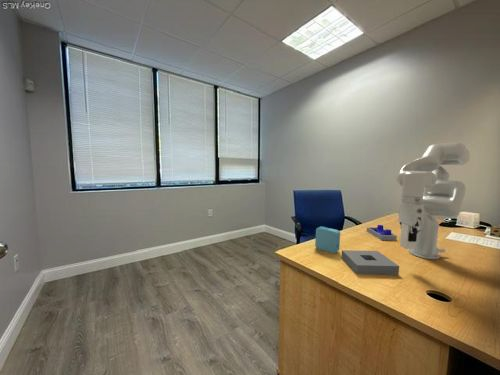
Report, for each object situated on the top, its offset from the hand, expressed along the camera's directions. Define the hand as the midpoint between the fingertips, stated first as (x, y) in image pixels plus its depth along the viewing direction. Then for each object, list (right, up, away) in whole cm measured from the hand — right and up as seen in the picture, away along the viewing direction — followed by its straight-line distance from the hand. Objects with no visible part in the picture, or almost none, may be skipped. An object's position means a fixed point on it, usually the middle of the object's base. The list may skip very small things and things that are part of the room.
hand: (408, 239), depth 96 cm
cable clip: (+17, -10, +46) cm, 50 cm away
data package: (-29, -12, +22) cm, 38 cm away
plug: (0, -4, 0) cm, 4 cm away
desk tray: (+16, -9, +47) cm, 50 cm away
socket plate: (-17, -13, +3) cm, 22 cm away
